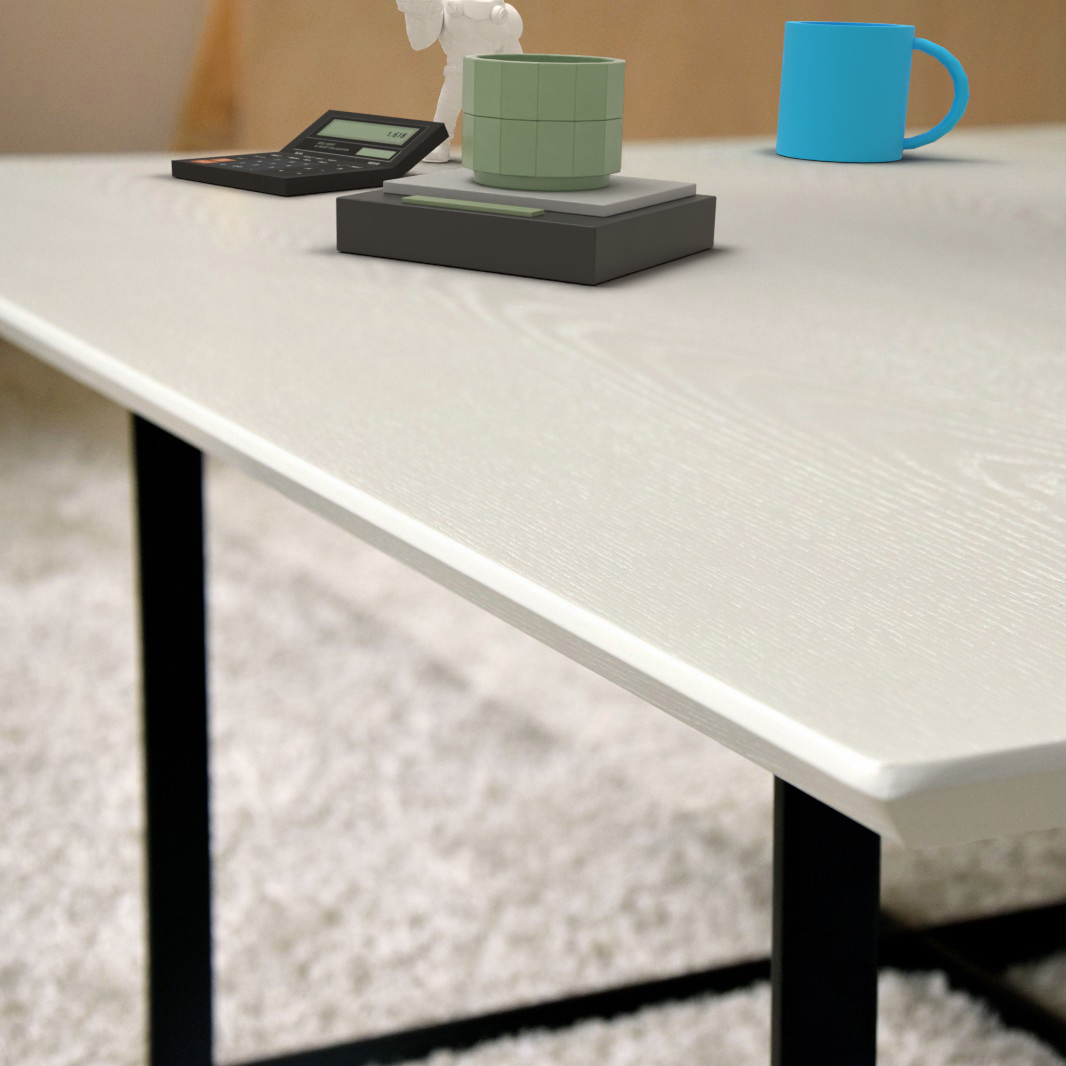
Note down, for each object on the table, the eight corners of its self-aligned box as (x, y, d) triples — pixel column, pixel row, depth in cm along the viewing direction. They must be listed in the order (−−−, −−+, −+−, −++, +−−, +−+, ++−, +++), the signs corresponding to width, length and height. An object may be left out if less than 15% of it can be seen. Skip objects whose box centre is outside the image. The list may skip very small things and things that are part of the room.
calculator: (172, 176, 87) (169, 119, 86) (335, 161, 96) (334, 109, 95) (285, 195, 82) (284, 134, 81) (448, 178, 90) (449, 122, 89)
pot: (647, 181, 70) (653, 59, 68) (571, 197, 64) (575, 65, 62) (515, 168, 73) (517, 51, 71) (431, 183, 67) (431, 56, 65)
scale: (714, 247, 70) (718, 184, 69) (593, 285, 61) (596, 213, 60) (477, 219, 76) (479, 160, 75) (335, 251, 67) (334, 184, 66)
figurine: (418, 170, 93) (418, -54, 89) (371, 160, 97) (369, -54, 93) (561, 162, 99) (567, -49, 95) (511, 152, 102) (516, -50, 98)
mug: (775, 158, 103) (785, 24, 101) (775, 145, 111) (785, 20, 108) (969, 167, 102) (984, 30, 99) (956, 153, 109) (970, 26, 107)
